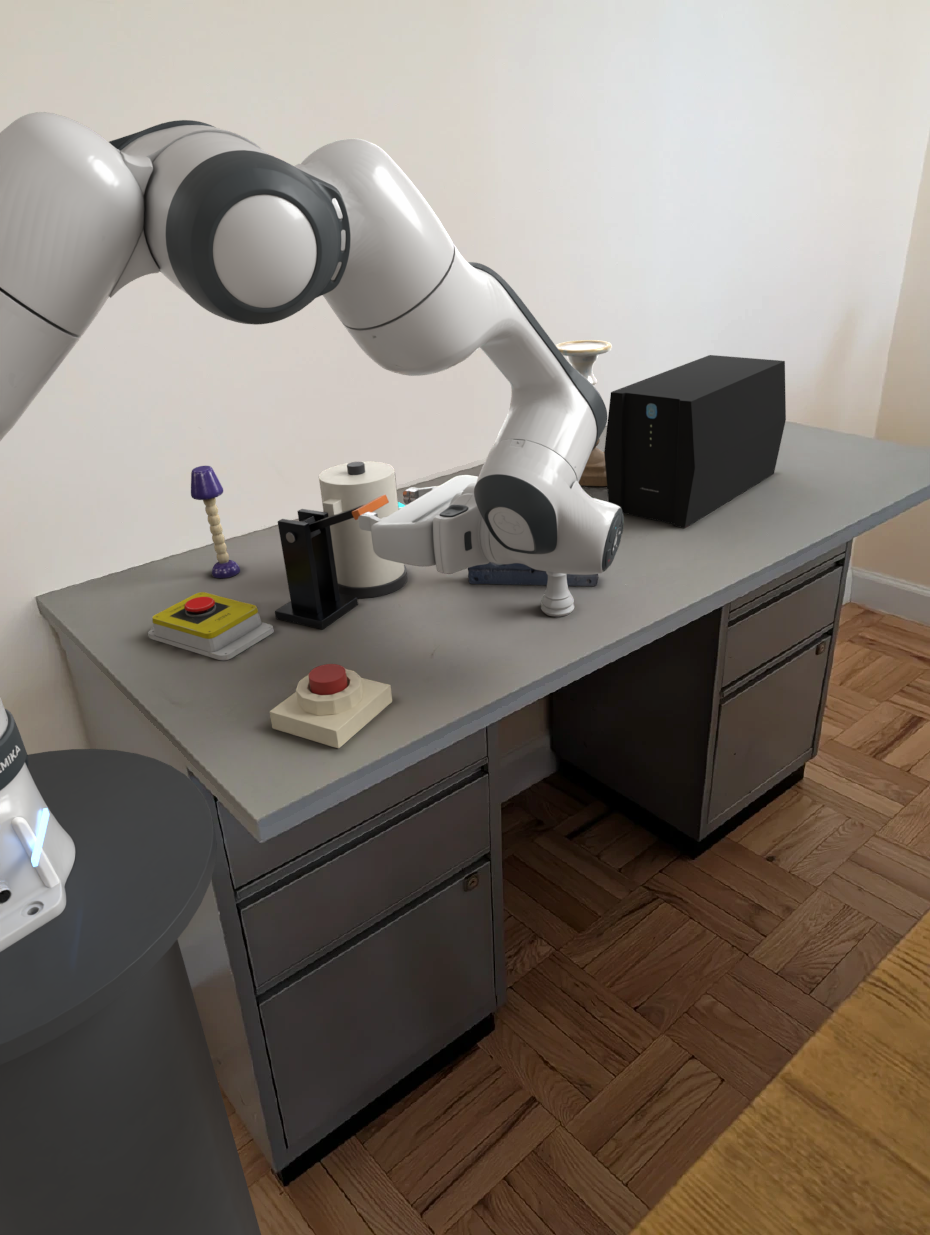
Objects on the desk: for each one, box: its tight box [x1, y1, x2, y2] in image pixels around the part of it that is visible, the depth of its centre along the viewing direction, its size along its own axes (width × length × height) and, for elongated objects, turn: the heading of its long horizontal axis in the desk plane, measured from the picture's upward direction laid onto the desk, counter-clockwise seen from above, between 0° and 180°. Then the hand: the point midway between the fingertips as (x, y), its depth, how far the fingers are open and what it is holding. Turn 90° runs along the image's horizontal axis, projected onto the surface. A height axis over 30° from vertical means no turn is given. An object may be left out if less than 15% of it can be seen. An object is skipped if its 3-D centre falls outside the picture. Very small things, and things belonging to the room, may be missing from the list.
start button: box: [308, 663, 348, 695], centre depth 97 cm, size 4×4×2 cm
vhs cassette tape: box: [467, 562, 599, 587], centre depth 124 cm, size 18×3×10 cm, turn 78°
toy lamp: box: [190, 465, 241, 579], centre depth 133 cm, size 5×5×17 cm
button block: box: [269, 668, 393, 749], centre depth 98 cm, size 10×9×4 cm
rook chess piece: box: [540, 571, 575, 618], centre depth 116 cm, size 4×4×8 cm
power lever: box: [300, 495, 389, 538], centre depth 113 cm, size 14×6×2 cm, turn 60°
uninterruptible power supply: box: [603, 354, 787, 529], centre depth 152 cm, size 16×34×20 cm, turn 138°
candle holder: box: [555, 339, 613, 487], centre depth 162 cm, size 11×11×24 cm
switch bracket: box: [274, 508, 359, 630], centre depth 119 cm, size 8×8×14 cm
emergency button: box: [147, 591, 274, 661], centre depth 117 cm, size 9×4×15 cm
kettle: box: [318, 460, 408, 599], centre depth 126 cm, size 14×11×18 cm
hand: (384, 507), depth 108 cm, fingers open, 8 cm apart
